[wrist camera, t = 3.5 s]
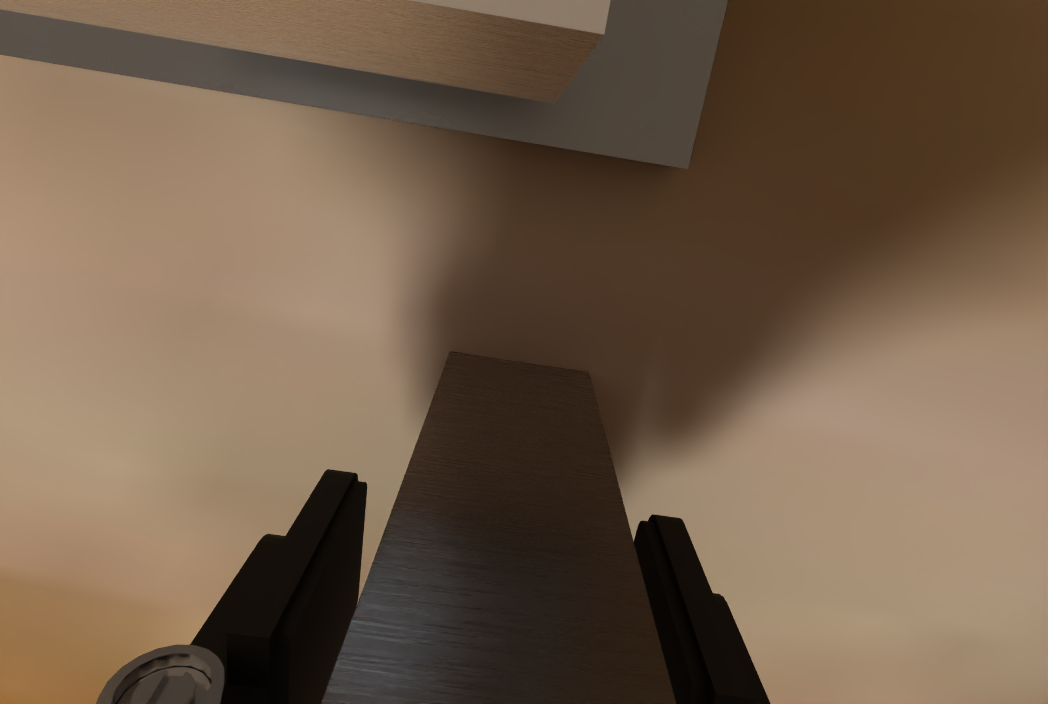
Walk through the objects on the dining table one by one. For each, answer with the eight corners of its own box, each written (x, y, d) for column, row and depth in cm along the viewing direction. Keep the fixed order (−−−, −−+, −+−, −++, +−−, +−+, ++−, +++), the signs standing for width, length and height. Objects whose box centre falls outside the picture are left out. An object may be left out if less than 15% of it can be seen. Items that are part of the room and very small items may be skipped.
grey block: (547, 570, 16) (578, 1229, 6) (424, 554, 15) (264, 1204, 6) (589, 372, 14) (722, 880, 4) (449, 351, 14) (274, 831, 4)
